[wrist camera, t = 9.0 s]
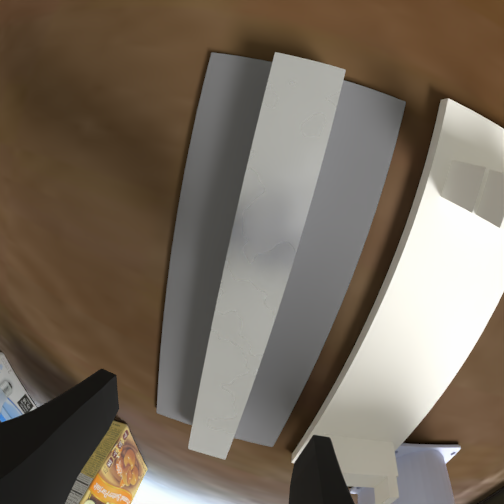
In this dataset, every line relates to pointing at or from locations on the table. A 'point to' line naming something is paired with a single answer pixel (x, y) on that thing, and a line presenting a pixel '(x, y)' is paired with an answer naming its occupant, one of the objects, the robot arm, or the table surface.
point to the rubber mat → (308, 252)
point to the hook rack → (423, 304)
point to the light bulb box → (12, 393)
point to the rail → (264, 239)
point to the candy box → (110, 470)
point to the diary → (494, 498)
